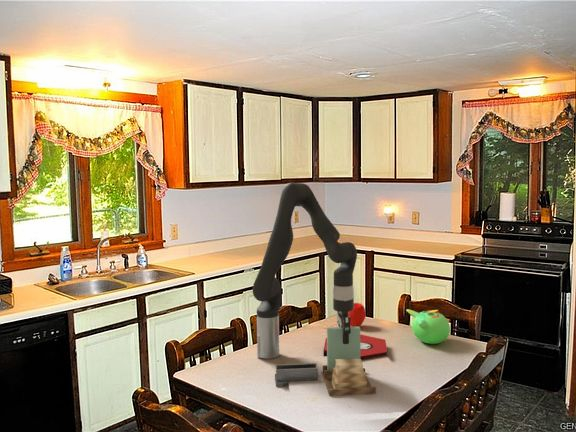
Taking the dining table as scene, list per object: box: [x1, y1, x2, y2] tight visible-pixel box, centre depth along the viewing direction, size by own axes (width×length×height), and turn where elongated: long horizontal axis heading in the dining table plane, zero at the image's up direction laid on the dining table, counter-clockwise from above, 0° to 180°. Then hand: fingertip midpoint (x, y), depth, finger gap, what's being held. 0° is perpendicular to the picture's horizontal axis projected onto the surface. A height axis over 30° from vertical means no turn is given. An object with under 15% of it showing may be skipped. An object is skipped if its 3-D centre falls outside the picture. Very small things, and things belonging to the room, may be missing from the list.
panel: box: [326, 326, 361, 370], centre depth 196 cm, size 12×2×18 cm, turn 94°
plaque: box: [323, 333, 388, 361], centre depth 226 cm, size 27×4×30 cm
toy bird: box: [405, 308, 451, 345], centre depth 235 cm, size 18×17×15 cm
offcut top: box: [335, 359, 364, 374], centre depth 186 cm, size 9×6×3 cm, turn 90°
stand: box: [274, 362, 321, 387], centre depth 196 cm, size 16×8×6 cm, turn 94°
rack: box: [320, 364, 377, 397], centre depth 191 cm, size 16×21×4 cm
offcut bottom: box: [332, 375, 367, 389], centre depth 186 cm, size 11×8×3 cm
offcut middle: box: [333, 368, 367, 384], centre depth 186 cm, size 10×7×3 cm
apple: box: [348, 302, 366, 327], centre depth 259 cm, size 10×10×12 cm
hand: (343, 339), depth 196 cm, fingers open, 8 cm apart
